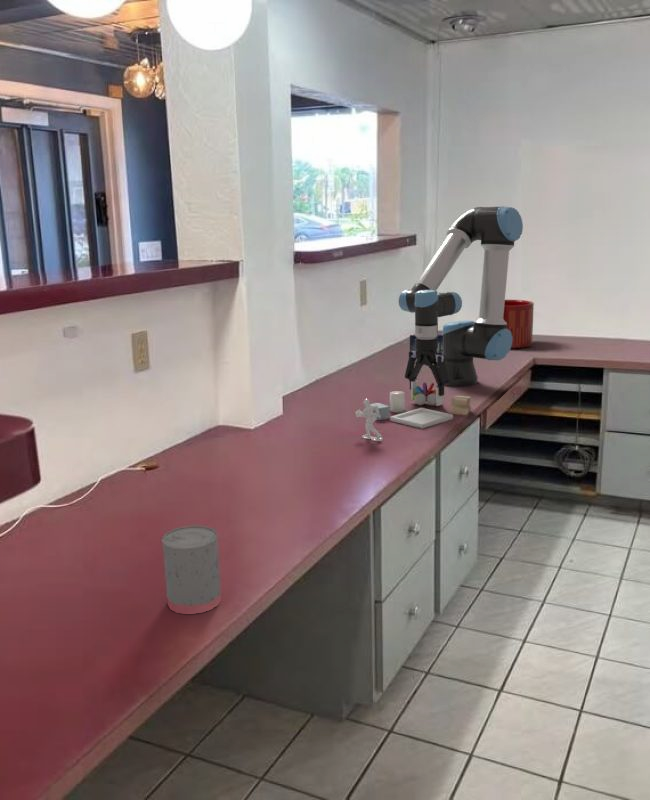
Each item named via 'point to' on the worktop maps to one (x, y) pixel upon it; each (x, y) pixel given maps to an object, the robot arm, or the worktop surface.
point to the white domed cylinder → (397, 401)
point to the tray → (421, 418)
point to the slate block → (381, 410)
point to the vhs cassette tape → (412, 348)
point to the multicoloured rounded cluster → (425, 395)
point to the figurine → (370, 420)
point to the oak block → (460, 405)
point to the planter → (519, 322)
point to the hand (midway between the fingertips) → (426, 402)
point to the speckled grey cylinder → (191, 565)
